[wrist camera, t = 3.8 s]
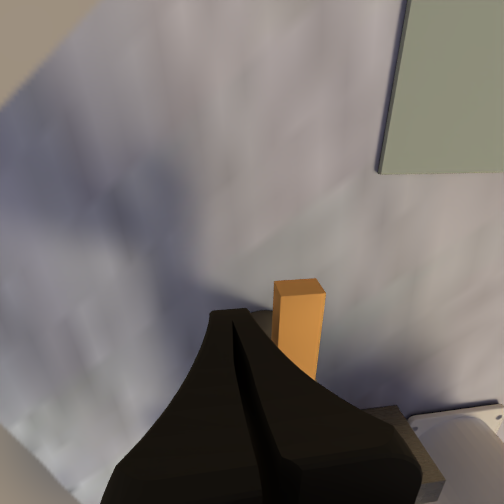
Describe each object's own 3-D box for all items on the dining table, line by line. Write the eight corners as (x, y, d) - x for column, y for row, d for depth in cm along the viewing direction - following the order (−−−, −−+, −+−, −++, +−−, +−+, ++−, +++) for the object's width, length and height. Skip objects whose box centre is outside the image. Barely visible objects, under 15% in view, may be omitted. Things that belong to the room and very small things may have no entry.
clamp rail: (391, 424, 25) (437, 501, 20) (214, 449, 23) (219, 540, 18) (396, 405, 24) (446, 480, 19) (213, 429, 22) (218, 518, 17)
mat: (537, 170, 18) (542, 171, 17) (378, 173, 16) (381, 174, 16) (617, -49, 14) (626, -52, 14) (419, -69, 13) (424, -73, 12)
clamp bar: (288, 532, 18) (292, 554, 18) (261, 537, 18) (264, 560, 17) (315, 278, 12) (325, 293, 11) (274, 281, 12) (280, 296, 11)
